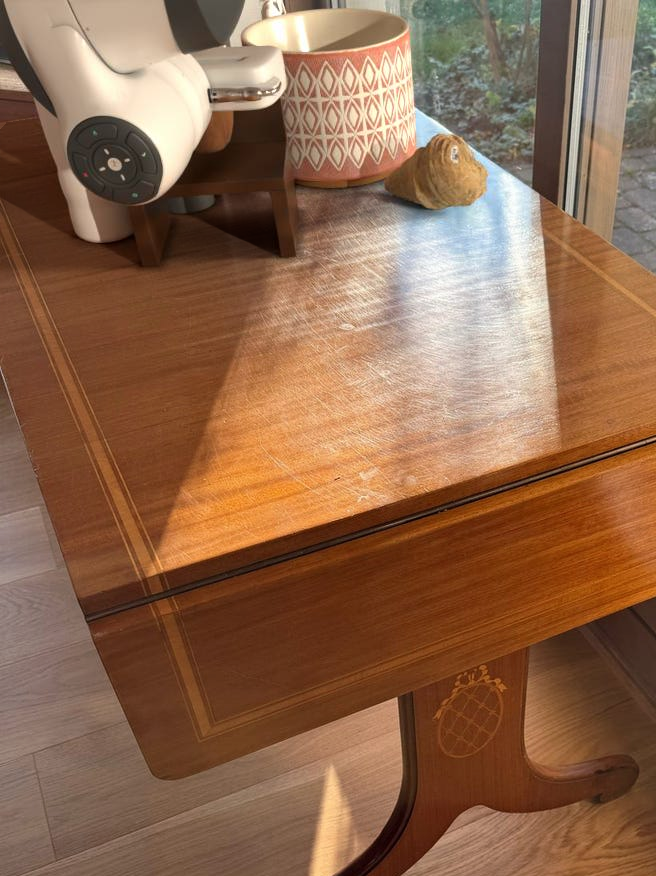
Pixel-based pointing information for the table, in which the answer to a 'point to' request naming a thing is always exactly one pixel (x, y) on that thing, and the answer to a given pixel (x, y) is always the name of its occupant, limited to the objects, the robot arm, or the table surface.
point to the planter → (343, 92)
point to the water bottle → (84, 194)
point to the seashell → (440, 175)
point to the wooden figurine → (216, 133)
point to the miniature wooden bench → (231, 180)
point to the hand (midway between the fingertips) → (188, 55)
